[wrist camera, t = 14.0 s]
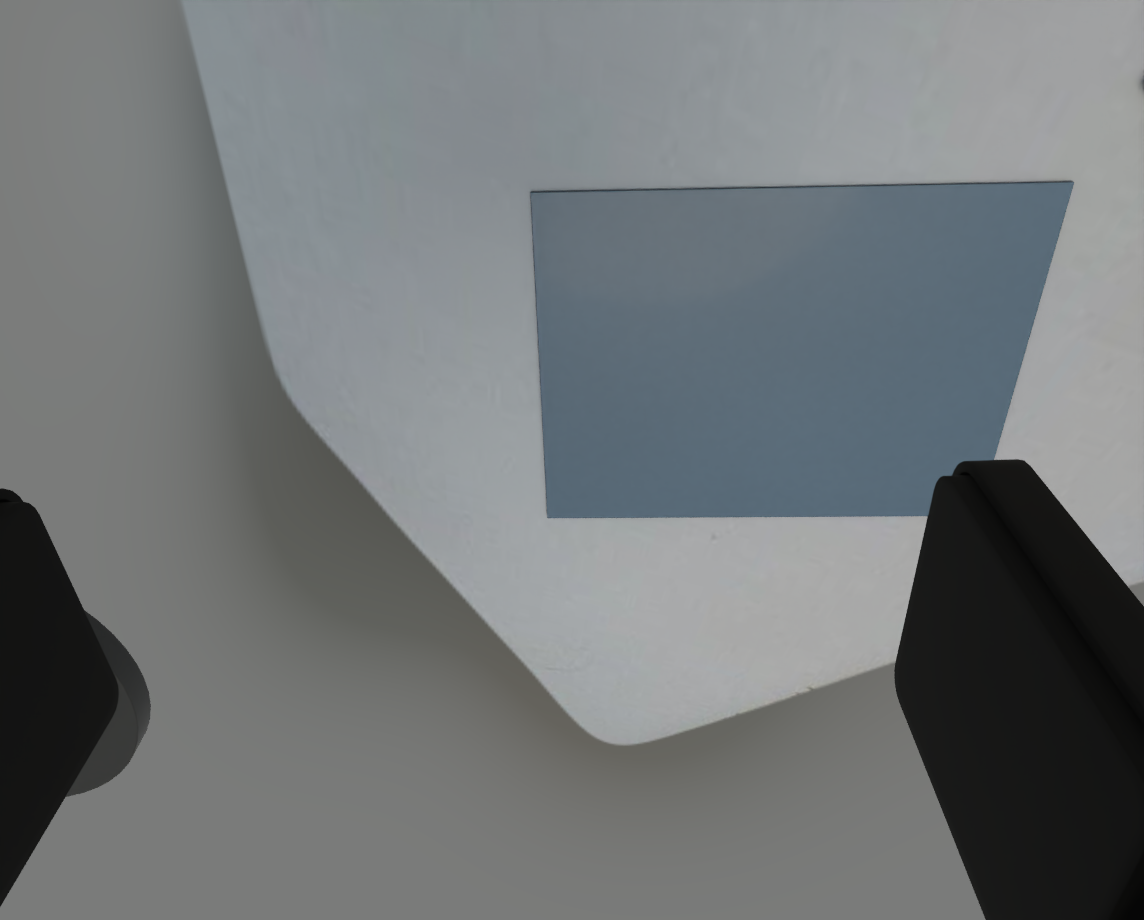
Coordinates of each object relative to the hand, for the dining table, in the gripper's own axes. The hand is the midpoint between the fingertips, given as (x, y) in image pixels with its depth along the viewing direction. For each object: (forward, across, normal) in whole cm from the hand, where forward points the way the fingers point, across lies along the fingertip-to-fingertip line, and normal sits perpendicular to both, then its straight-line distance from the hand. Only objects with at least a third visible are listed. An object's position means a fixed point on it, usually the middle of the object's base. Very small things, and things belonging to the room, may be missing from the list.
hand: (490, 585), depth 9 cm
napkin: (+27, -9, +11) cm, 31 cm away
